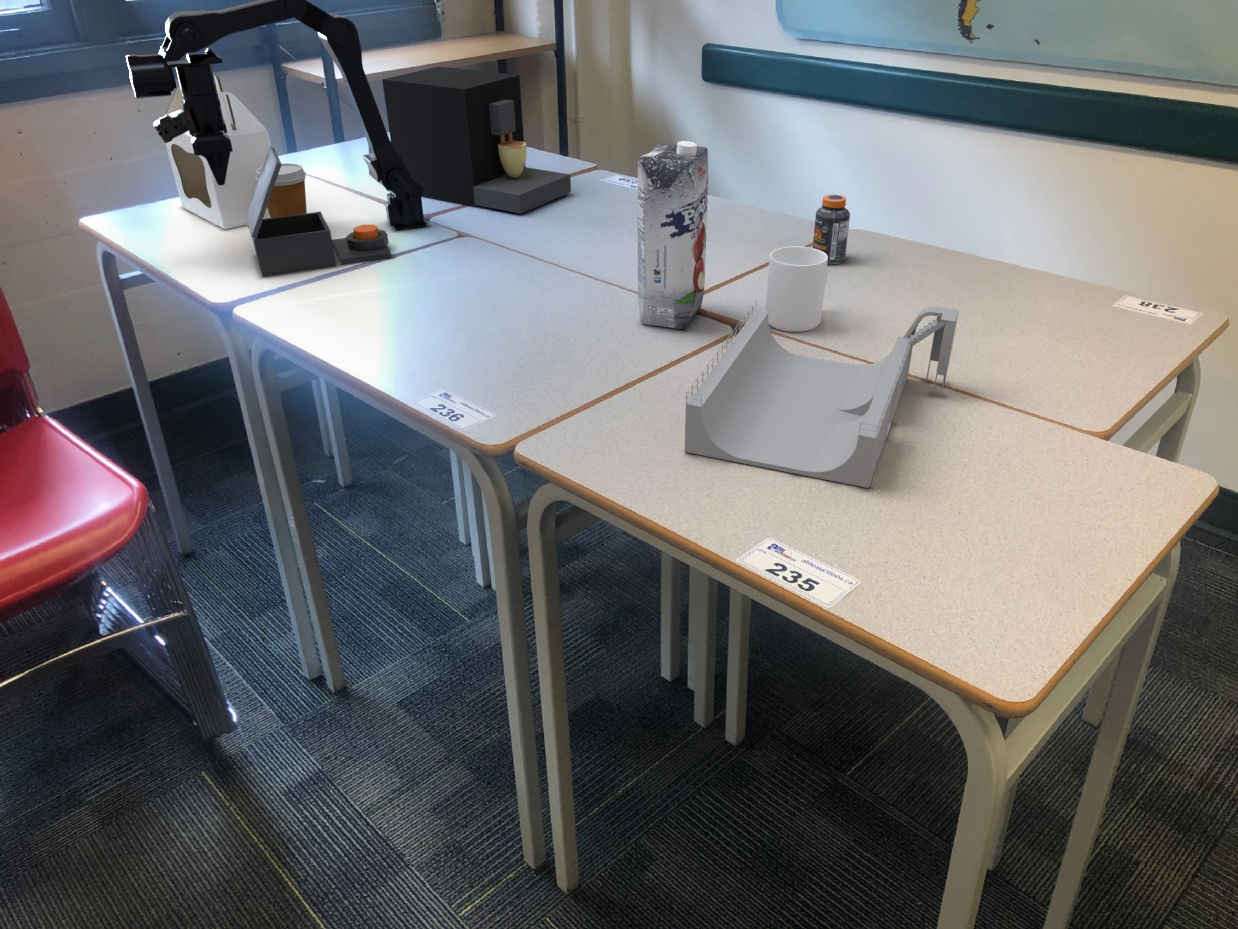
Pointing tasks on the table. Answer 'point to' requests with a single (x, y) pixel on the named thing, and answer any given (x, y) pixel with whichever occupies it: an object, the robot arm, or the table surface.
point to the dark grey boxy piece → (294, 244)
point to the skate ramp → (805, 402)
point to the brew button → (366, 232)
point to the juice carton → (672, 233)
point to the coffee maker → (467, 139)
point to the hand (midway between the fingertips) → (221, 183)
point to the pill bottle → (832, 228)
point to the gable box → (246, 158)
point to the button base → (361, 248)
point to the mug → (796, 288)
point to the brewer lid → (263, 192)
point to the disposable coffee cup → (287, 191)
